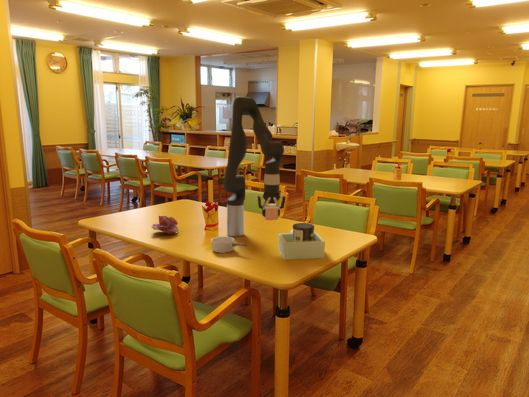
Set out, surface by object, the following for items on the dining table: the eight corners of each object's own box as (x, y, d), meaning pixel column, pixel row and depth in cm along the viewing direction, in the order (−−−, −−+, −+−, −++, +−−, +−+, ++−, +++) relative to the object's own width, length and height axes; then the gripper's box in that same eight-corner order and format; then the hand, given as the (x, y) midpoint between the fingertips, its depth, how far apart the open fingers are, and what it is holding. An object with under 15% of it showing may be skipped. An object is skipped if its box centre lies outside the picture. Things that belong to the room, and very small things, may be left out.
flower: (149, 232, 223) (154, 214, 223) (151, 229, 237) (155, 212, 237) (176, 239, 226) (181, 221, 226) (176, 235, 240) (181, 218, 240)
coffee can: (314, 251, 202) (315, 223, 200) (312, 258, 192) (313, 228, 190) (293, 249, 204) (294, 222, 202) (290, 256, 194) (291, 227, 192)
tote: (283, 259, 190) (284, 242, 188) (278, 249, 205) (278, 233, 203) (324, 258, 193) (324, 241, 191) (315, 247, 208) (316, 232, 206)
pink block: (265, 220, 200) (265, 206, 199) (263, 216, 206) (263, 203, 205) (278, 220, 201) (278, 206, 199) (276, 216, 207) (276, 203, 206)
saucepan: (239, 259, 190) (239, 247, 189) (206, 251, 201) (206, 240, 200) (253, 252, 200) (253, 241, 199) (221, 245, 210) (221, 235, 209)
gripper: (257, 184, 195) (257, 218, 199) (287, 184, 197) (286, 218, 201) (256, 181, 203) (255, 214, 206) (285, 181, 204) (283, 214, 208)
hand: (270, 216), depth 203 cm, fingers closed on pink block, 6 cm apart
